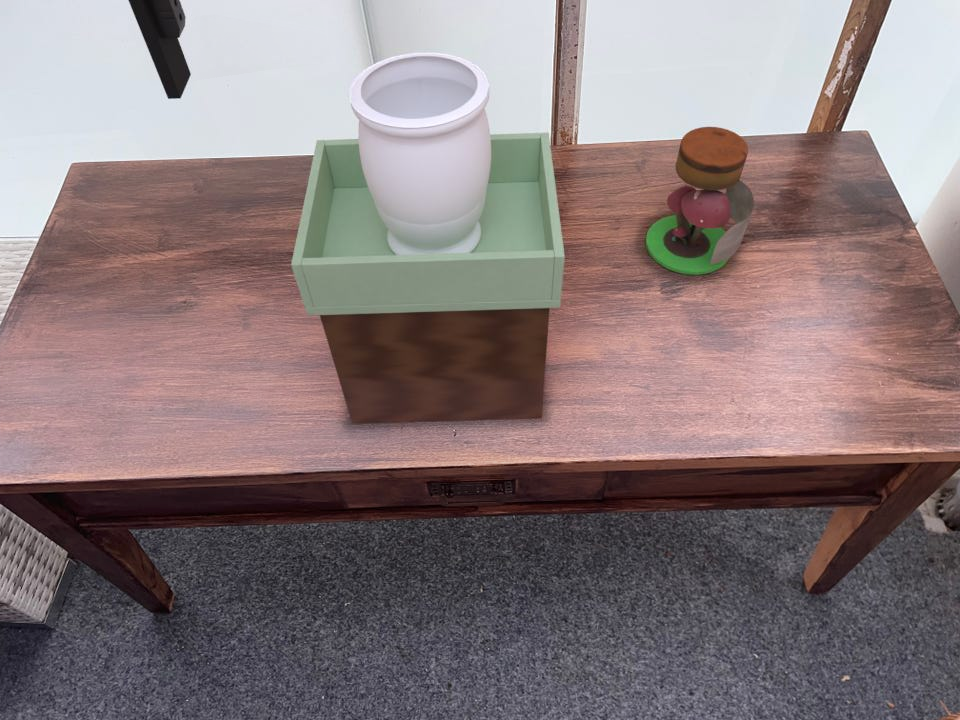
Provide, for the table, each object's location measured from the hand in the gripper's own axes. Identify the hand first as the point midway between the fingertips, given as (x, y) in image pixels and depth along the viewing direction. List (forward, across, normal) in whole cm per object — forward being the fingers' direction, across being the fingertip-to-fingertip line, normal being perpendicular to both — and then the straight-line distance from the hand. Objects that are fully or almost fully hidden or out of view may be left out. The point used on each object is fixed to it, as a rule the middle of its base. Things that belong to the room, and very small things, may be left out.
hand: (69, 90), depth 44 cm
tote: (+22, -21, -9) cm, 31 cm away
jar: (+21, -21, -9) cm, 31 cm away
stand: (+40, -21, -9) cm, 46 cm away
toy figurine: (+40, -51, -26) cm, 70 cm away
